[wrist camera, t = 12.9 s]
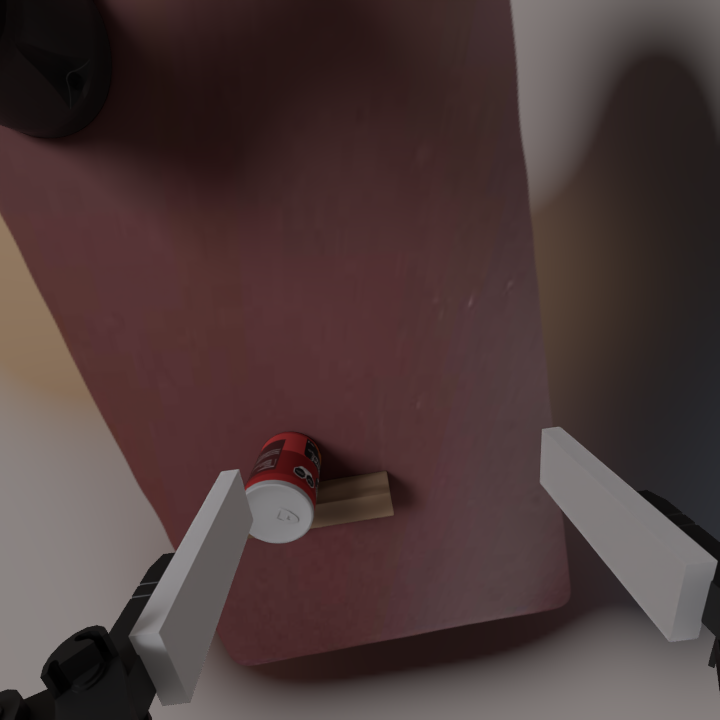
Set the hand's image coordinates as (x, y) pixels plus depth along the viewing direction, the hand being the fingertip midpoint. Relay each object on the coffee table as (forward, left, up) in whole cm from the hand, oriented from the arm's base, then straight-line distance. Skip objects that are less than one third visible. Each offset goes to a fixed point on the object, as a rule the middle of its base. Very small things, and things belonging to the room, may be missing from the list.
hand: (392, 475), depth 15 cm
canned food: (+15, -12, -28) cm, 34 cm away
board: (+21, -12, -28) cm, 37 cm away
